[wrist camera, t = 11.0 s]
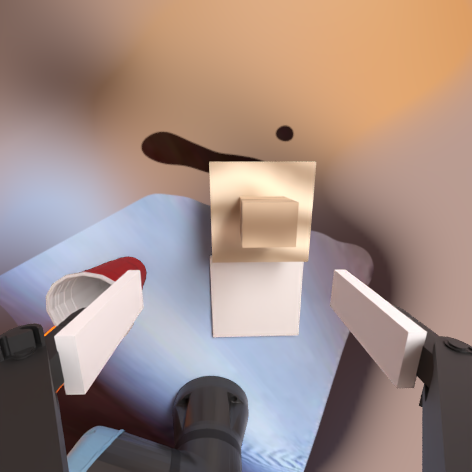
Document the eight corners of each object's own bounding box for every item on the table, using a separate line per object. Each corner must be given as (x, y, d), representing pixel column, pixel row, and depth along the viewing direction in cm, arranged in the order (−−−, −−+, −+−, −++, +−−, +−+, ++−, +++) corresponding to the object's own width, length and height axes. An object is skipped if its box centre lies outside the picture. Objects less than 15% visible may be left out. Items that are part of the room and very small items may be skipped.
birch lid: (306, 259, 34) (327, 283, 27) (212, 260, 34) (207, 284, 27) (314, 162, 31) (341, 157, 23) (209, 162, 30) (202, 157, 23)
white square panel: (297, 333, 44) (298, 335, 43) (213, 335, 43) (213, 337, 43) (302, 253, 39) (303, 254, 39) (210, 255, 39) (209, 256, 39)
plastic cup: (102, 300, 41) (52, 349, 29) (94, 242, 38) (34, 272, 27) (163, 300, 41) (137, 350, 30) (159, 243, 39) (128, 273, 27)
